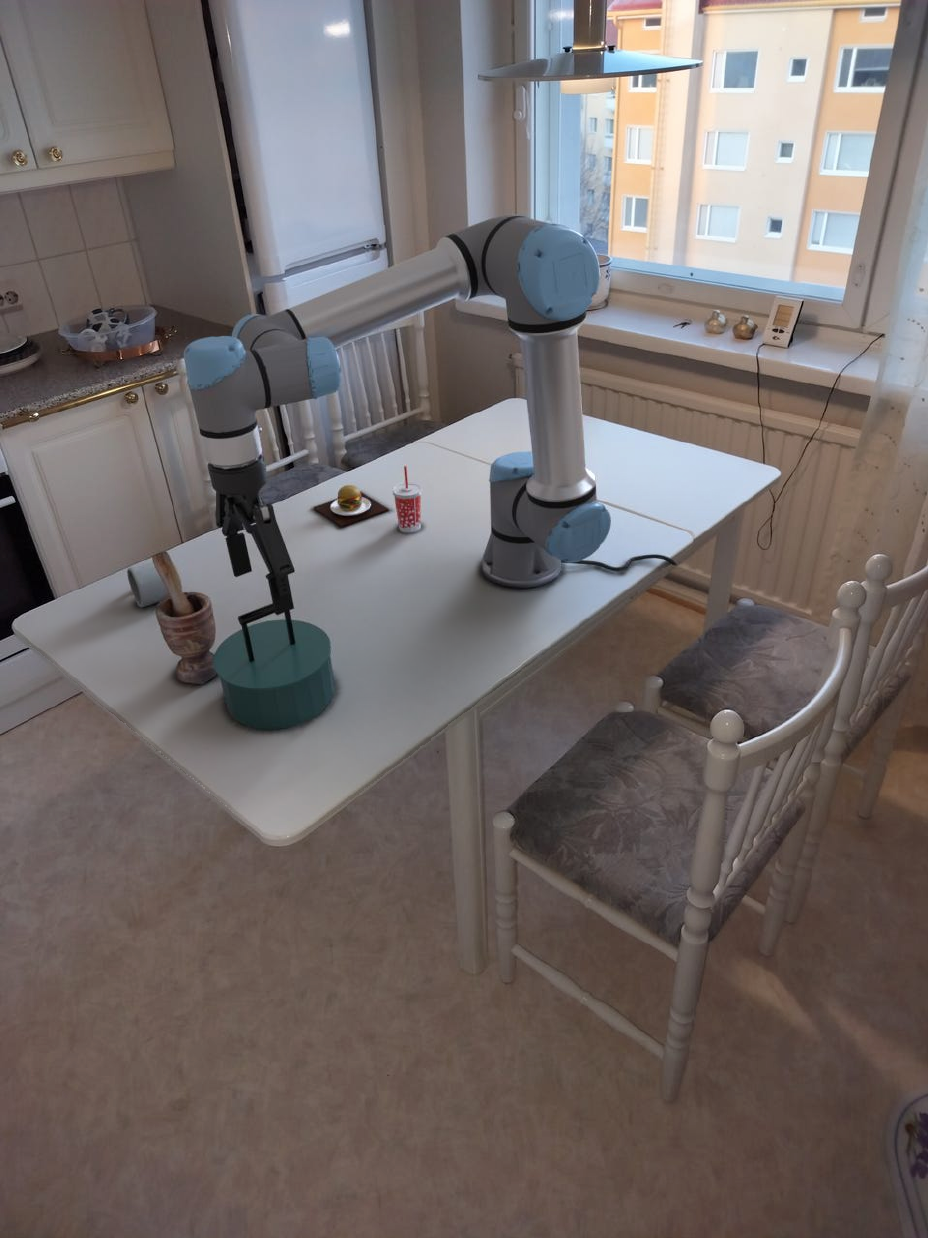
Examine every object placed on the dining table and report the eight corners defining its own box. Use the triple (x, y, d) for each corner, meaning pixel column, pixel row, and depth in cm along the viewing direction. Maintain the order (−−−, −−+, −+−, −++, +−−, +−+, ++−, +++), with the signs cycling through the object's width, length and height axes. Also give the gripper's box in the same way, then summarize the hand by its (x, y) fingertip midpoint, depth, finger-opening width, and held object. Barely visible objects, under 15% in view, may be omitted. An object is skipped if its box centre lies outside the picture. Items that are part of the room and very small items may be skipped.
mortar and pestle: (150, 669, 146) (120, 566, 134) (190, 643, 151) (164, 543, 140) (196, 692, 140) (168, 587, 129) (236, 665, 146) (213, 562, 135)
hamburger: (342, 527, 185) (339, 504, 182) (313, 508, 193) (310, 486, 190) (388, 510, 191) (386, 488, 188) (359, 492, 199) (357, 470, 196)
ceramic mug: (187, 599, 163) (178, 563, 159) (145, 614, 160) (134, 578, 155) (168, 577, 171) (158, 543, 167) (126, 591, 167) (116, 556, 163)
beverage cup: (415, 517, 188) (410, 457, 180) (429, 528, 184) (425, 467, 176) (390, 526, 185) (384, 465, 177) (404, 537, 181) (399, 475, 173)
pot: (354, 699, 137) (348, 658, 133) (256, 745, 129) (247, 704, 125) (302, 650, 149) (296, 611, 144) (209, 690, 140) (199, 650, 136)
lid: (353, 662, 133) (346, 611, 128) (245, 710, 124) (233, 658, 119) (297, 612, 145) (289, 564, 140) (195, 653, 136) (183, 603, 131)
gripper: (304, 479, 109) (327, 618, 121) (222, 424, 126) (249, 551, 138) (250, 497, 106) (279, 638, 118) (173, 438, 123) (205, 567, 135)
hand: (263, 591), depth 128 cm, fingers open, 13 cm apart
